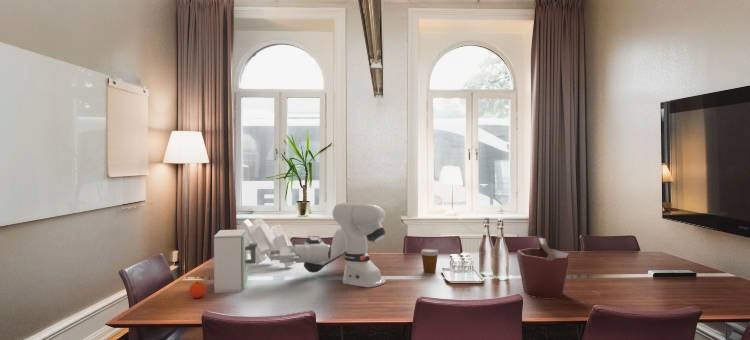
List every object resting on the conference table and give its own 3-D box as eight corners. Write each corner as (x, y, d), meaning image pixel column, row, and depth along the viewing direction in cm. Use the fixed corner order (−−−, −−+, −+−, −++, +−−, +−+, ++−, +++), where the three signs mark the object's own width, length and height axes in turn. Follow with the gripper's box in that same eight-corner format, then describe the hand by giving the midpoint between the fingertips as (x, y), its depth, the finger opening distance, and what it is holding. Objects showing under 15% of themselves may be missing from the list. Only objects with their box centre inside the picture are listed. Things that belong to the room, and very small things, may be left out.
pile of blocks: (300, 268, 265) (284, 216, 276) (297, 260, 237) (280, 202, 248) (243, 288, 257) (229, 233, 268) (233, 281, 229) (218, 220, 240)
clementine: (203, 293, 197) (203, 278, 197) (211, 296, 193) (211, 280, 193) (186, 297, 191) (186, 281, 191) (194, 301, 187) (194, 284, 187)
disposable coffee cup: (418, 273, 233) (418, 251, 233) (423, 269, 242) (423, 248, 242) (436, 275, 230) (436, 252, 230) (440, 271, 239) (440, 249, 238)
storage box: (245, 280, 218) (245, 229, 218) (241, 291, 201) (241, 235, 200) (220, 282, 216) (219, 230, 216) (214, 292, 198) (213, 236, 198)
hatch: (258, 278, 220) (258, 229, 220) (255, 288, 202) (255, 235, 201) (245, 278, 219) (245, 230, 219) (242, 289, 200) (241, 236, 200)
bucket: (565, 305, 182) (565, 245, 182) (511, 297, 193) (511, 241, 192) (570, 290, 203) (571, 237, 203) (522, 283, 214) (522, 233, 214)
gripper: (299, 265, 206) (269, 266, 203) (298, 255, 226) (270, 256, 223) (299, 252, 205) (269, 253, 203) (298, 243, 225) (270, 244, 223)
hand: (270, 255), depth 213 cm, fingers open, 8 cm apart
